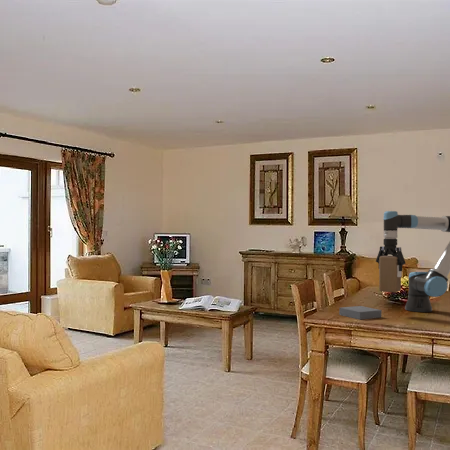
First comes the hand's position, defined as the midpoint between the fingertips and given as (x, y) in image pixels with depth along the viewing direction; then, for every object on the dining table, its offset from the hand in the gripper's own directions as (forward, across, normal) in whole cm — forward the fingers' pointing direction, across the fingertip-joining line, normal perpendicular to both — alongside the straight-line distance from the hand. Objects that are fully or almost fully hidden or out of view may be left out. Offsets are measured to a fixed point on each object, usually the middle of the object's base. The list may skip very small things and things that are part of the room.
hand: (390, 275), depth 297 cm
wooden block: (+9, 0, 0) cm, 9 cm away
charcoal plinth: (+22, -3, -20) cm, 29 cm away
